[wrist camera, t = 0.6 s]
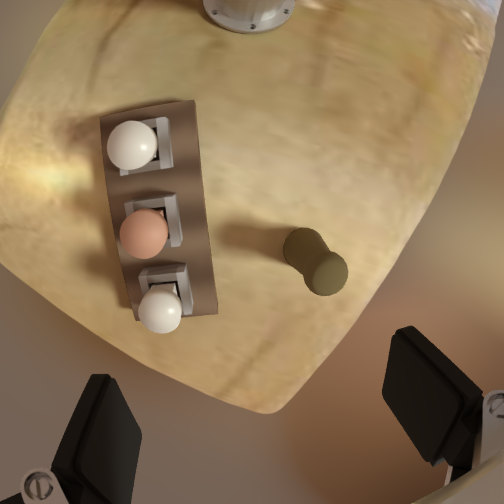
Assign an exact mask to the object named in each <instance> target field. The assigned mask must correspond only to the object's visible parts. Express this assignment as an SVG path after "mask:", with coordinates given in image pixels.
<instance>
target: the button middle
mask: <svg viewBox="0 0 504 504" xmlns="http://www.w3.org/2000/svg"><path fill="white" fill-rule="evenodd" d="M168 232H169V231H168V225H167V222H166V220H165V218H164V215H163V210H158V211H155V210H153V209H149V208H143V209H139V210H137V211H135V212H134V213H132V214H131V215H129V216H128V217H127V218H126V219H125V220H124V221H123V223H122V225H121V228H120V240H121V243H122V245H123V247H124V249H125V250H126V251H127V252H128V253H129V254H130V255H132V256H134V257H136V258H140V259H148V258H151V257H154V256H155V255H157V254H158V253H159V252H160V251H161V250H162V248H163V246H164V244H165V243H166V241H167V238H168Z"/></svg>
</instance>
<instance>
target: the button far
mask: <svg viewBox="0 0 504 504" xmlns="http://www.w3.org/2000/svg"><path fill="white" fill-rule="evenodd" d="M181 314H182V303H181V301H180V299H179V297H178V296H177V291H176V286H175V283H171V284H161V285H152V286H151V288H150V290H149V291H148V292H147V293H146V294H145V295H144V297H143V299H142V301H141V304H140V306H139V309H138V315H139V319H140V321H141V322H142V324H143V325H144V326H145V327H146V328H147V329H149V330H151V331H153V332H156V333H168V332H171V331H173V330H174V329H175V328H176V327H177V326H178V325H179V323H180V319H181Z"/></svg>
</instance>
